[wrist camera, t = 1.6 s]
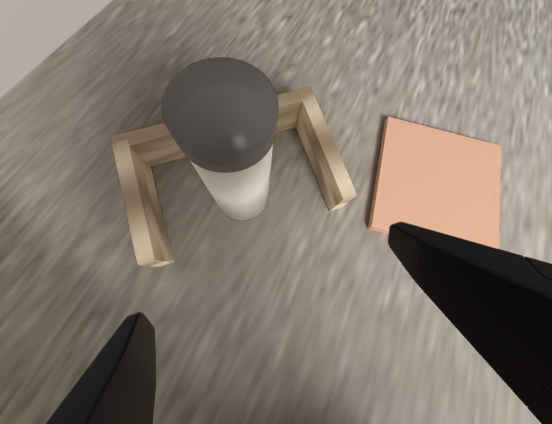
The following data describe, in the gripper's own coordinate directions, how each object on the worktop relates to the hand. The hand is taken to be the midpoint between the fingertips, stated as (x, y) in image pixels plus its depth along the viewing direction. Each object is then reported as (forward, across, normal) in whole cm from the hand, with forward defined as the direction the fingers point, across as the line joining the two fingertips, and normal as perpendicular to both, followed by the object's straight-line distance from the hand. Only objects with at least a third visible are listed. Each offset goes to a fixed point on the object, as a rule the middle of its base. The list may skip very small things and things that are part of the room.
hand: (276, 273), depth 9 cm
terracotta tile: (+11, -19, +8) cm, 23 cm away
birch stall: (+16, 0, +3) cm, 16 cm away
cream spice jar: (+15, 0, +4) cm, 16 cm away
